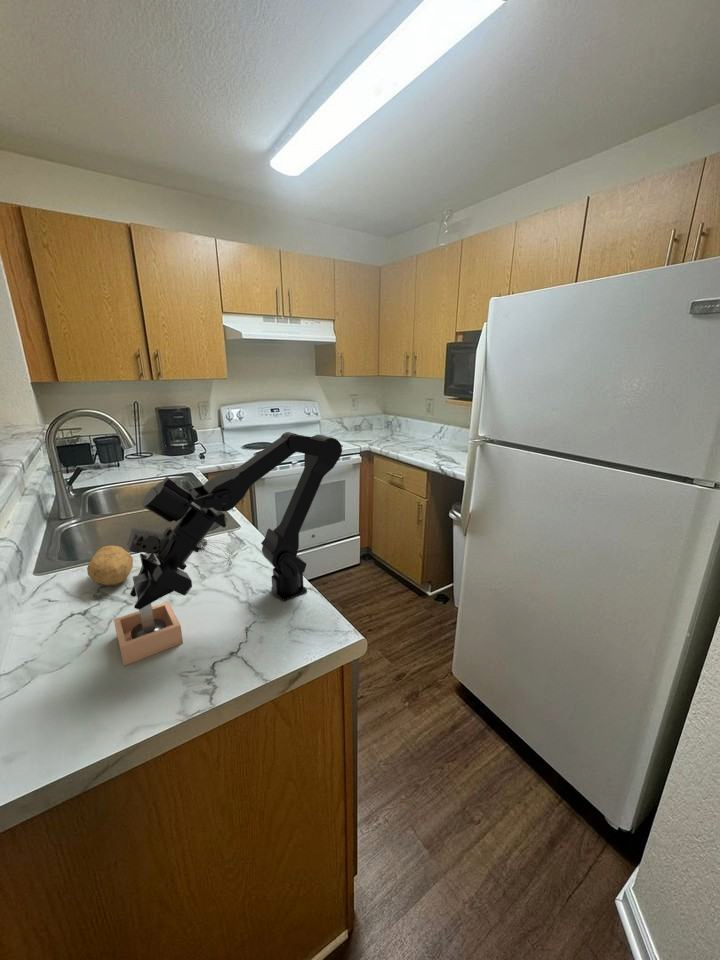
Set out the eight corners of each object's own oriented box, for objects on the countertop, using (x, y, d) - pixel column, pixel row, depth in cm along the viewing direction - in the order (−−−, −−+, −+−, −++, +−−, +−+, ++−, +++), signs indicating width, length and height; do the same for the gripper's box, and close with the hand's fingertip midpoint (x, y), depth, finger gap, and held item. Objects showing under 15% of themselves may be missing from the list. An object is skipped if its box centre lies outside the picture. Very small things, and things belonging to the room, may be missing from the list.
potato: (89, 600, 89) (82, 569, 87) (91, 574, 100) (85, 546, 98) (137, 588, 94) (132, 558, 92) (134, 565, 105) (129, 538, 103)
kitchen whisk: (191, 531, 128) (188, 513, 126) (241, 567, 105) (239, 545, 103) (172, 536, 124) (169, 518, 122) (220, 575, 101) (217, 553, 99)
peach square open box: (171, 617, 83) (168, 601, 82) (183, 642, 75) (180, 625, 74) (117, 636, 77) (113, 619, 76) (124, 665, 69) (120, 647, 68)
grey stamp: (163, 621, 80) (154, 567, 76) (169, 636, 75) (160, 579, 72) (130, 633, 76) (119, 576, 73) (134, 649, 72) (123, 590, 68)
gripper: (143, 499, 78) (88, 564, 75) (163, 528, 64) (96, 610, 61) (188, 526, 85) (140, 587, 82) (216, 557, 71) (158, 632, 67)
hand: (134, 601), depth 73 cm, fingers open, 5 cm apart
